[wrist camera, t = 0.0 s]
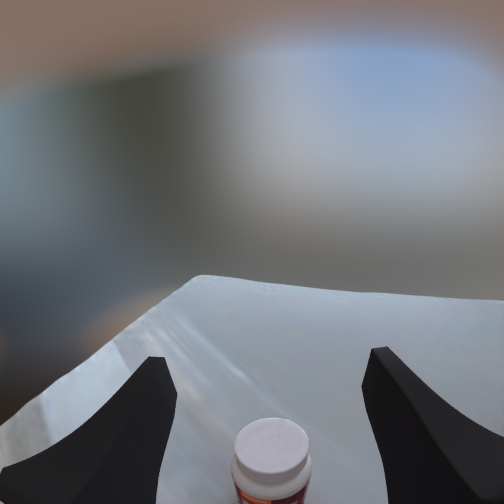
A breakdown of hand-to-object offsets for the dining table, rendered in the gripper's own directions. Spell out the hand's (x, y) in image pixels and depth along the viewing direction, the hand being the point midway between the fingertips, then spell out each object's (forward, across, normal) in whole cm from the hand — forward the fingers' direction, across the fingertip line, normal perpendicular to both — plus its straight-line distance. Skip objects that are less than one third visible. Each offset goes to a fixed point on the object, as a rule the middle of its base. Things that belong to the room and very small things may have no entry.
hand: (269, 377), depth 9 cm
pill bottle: (+2, 0, +22) cm, 22 cm away
